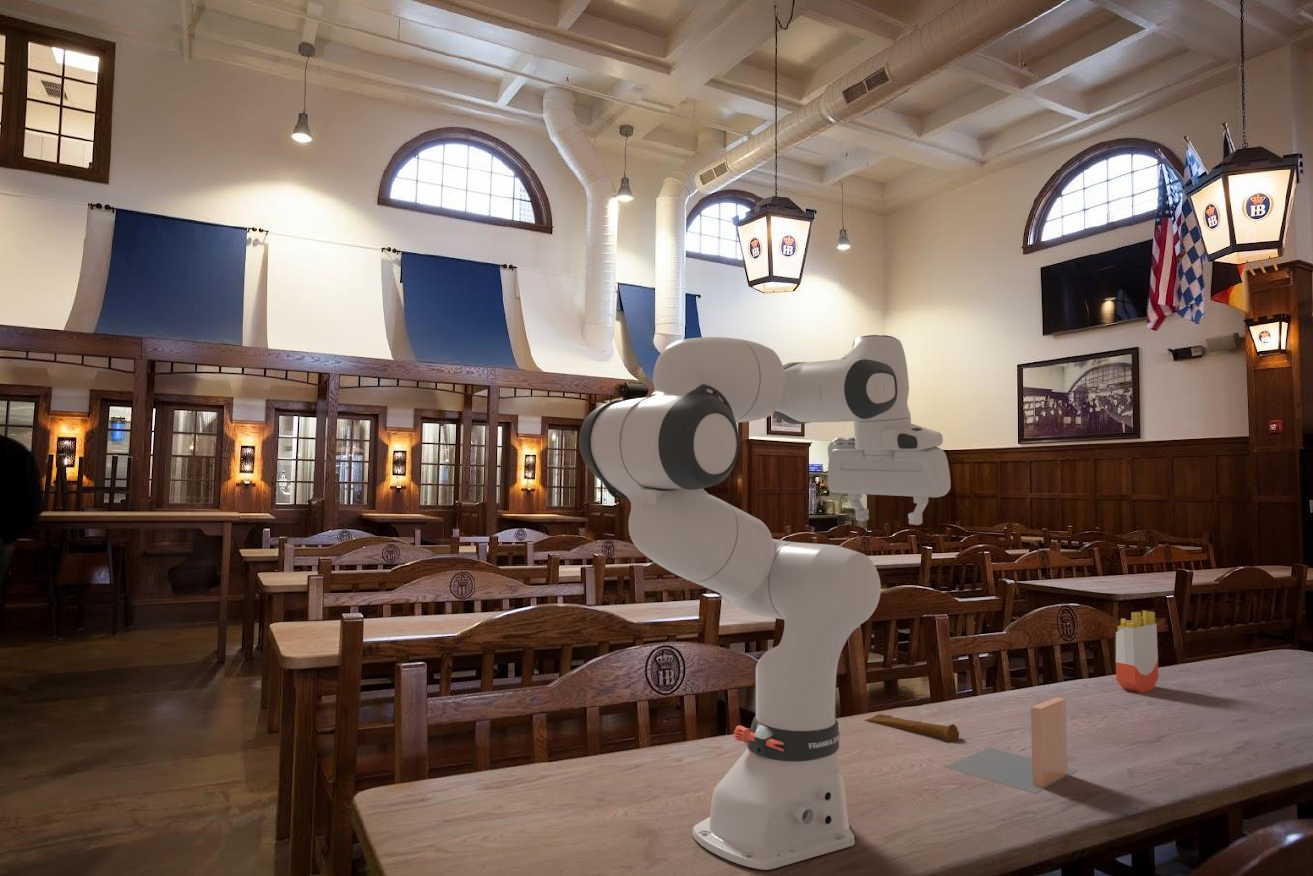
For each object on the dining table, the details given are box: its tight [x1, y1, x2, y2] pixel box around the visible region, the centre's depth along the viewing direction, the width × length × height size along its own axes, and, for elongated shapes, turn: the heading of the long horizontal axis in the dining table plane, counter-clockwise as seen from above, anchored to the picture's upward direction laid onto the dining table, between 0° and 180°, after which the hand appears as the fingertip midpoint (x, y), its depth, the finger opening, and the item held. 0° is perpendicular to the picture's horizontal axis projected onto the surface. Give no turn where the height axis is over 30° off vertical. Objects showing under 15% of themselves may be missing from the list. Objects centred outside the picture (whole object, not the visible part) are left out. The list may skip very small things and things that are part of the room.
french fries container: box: [1115, 610, 1160, 693], centre depth 184 cm, size 5×11×18 cm, turn 123°
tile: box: [1030, 697, 1068, 788], centre depth 126 cm, size 9×2×12 cm, turn 130°
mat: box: [944, 746, 1078, 794], centre depth 130 cm, size 15×15×1 cm
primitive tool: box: [864, 713, 960, 744], centre depth 153 cm, size 19×6×4 cm, turn 39°
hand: (888, 522), depth 127 cm, fingers open, 8 cm apart
